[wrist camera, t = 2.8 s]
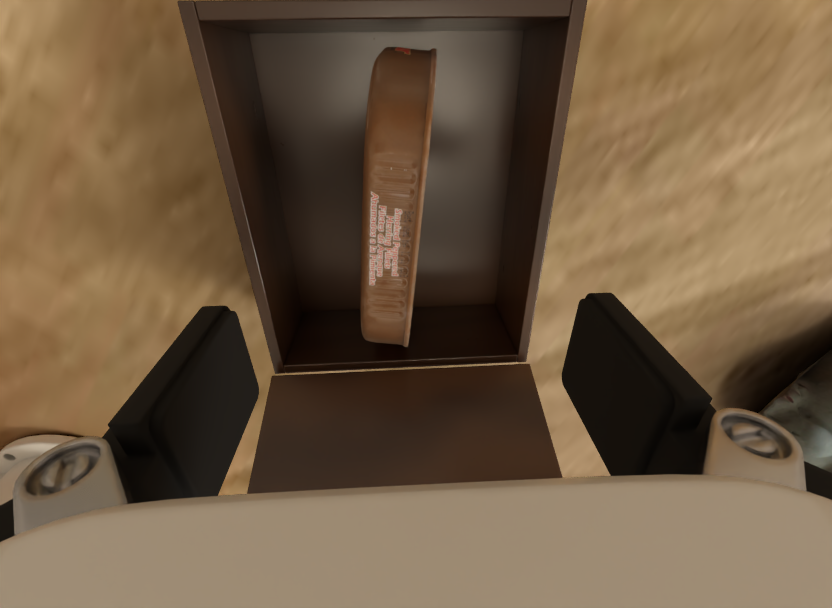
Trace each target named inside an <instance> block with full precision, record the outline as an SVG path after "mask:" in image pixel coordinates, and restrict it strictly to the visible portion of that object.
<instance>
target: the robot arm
mask: <svg viewBox="0 0 832 608" xmlns="http://www.w3.org/2000/svg"><path fill="white" fill-rule="evenodd" d="M562 382H563V385H564V387H565V389H566V391H567V393H568V395H569V397H570V399H571V401H572V403H573V405H574V406H575V408H576V410H577V412H578V414H579V416H580V418H581V420H582V422H583V424H584V425H585V427H586V429H587V431H588V433H589V435H590V437H591V439H592V441H593V443H594V444H595V446H596V448H597V450H598V452H599V454H600V456H601V458H602V460H603V462H604V463H605V465H606V467H607V469H608V471H609V473H610V475H611V476H596V477H574V478H551V479H528V480H506V481H484V482H463V483H443V484H422V485H403V486H383V487H363V488H344V489H326V490H308V491H290V492H272V493H254V494H237V495H223V496H218V494H219V491H220V489H221V486H222V484H223V481H224V479H225V477H226V474H227V472H228V469H229V467H230V464H231V462H232V460H233V457H234V455H235V452H236V450H237V447H238V445H239V443H240V440H241V438H242V435H243V433H244V430H245V428H246V426H247V423H248V421H249V418H250V416H251V413H252V411H253V409H254V406H255V404H256V401H257V399H258V394H259V387H258V382H257V379H256V376H255V373H254V369H253V366H252V363H251V359H250V356H249V353H248V349H247V346H246V343H245V339H244V336H243V333H242V329H241V326H240V323H239V319H238V316H237V314H236V312H235V311H230V309H229V308H228V307H227V306H205V307H202V308H201V309H200V310H199V311H198V312H197V314H196V315H195V316H194V317H193V319H192V320H191V321H190V322H189V324H188V325H187V326H186V327H185V329H184V330H183V331H182V332H181V334H180V335H179V336H178V337H177V339H176V340H175V341H174V342H173V344H172V345H171V346H170V347H169V349H168V350H167V351H166V352H165V354H164V355H163V356H162V357H161V359H160V360H159V361H158V362H157V364H156V365H155V366H154V367H153V369H152V370H151V371H150V372H149V374H148V375H147V376H146V377H145V379H144V380H143V381H142V382H141V384H140V385H139V386H138V387H137V389H136V390H135V391H134V392H133V394H132V395H131V396H130V397H129V399H128V400H127V401H126V402H125V404H124V405H123V406H122V407H121V409H120V410H119V411H118V412H117V414H116V415H115V416H114V417H113V419H112V420H111V421H110V422H109V424H108V426H109V427H110V428H109V430H108V431H107V432H106V433H105V435H104V436H103V437H102V438H101V437H98V436H85V437H80V438H77V437H71V436H63V435H37V436H28V437H25V438H21V439H18V440H15V441H13V442H11V443H10V444H8V445H6V446H5V447H4V448H3V449H2V450H1V451H0V608H832V473H831V472H828V471H826V470H824V469H821V468H819V467H817V466H815V465H812V464H810V463H808V462H806V461H804V457H803V451H802V449H801V446H800V444H799V443H798V441H797V440H796V439H795V438H794V436H793V435H792V434H791V433H789V432H788V431H787V430H786V429H785V428H783V427H782V426H781V425H779V424H777V423H776V422H774V421H773V420H771V419H769V418H767V417H765V416H762V415H760V414H758V413H755V412H752V411H748V410H745V409H739V408H724V409H720V410H719V411H716V410H715V409H714V408H713V407H712V406H711V404H710V402H711V400H712V397H711V396H710V395H709V394H708V393H707V392H706V391H705V390H704V389H703V388H702V387H701V386H700V385H699V384H698V383H697V382H696V381H695V380H694V379H693V378H692V376H691V375H690V374H689V373H688V372H687V371H686V370H685V369H684V368H683V367H682V366H681V365H680V364H679V363H678V362H677V361H676V360H675V359H674V358H673V357H672V355H671V354H670V353H669V352H668V351H667V350H666V349H665V348H664V347H663V346H662V345H661V344H660V343H659V342H658V341H657V340H656V339H655V338H654V337H653V336H652V334H651V333H650V332H649V331H648V330H647V329H646V328H645V327H644V326H643V325H642V324H641V323H640V322H639V321H638V320H637V319H636V318H635V317H634V316H633V315H632V313H631V312H630V311H629V310H628V309H627V308H626V307H625V306H624V305H623V304H622V303H621V302H620V301H619V300H618V299H617V298H616V297H615V296H614V295H613V294H612V293H590V294H588V295H587V296H586V298H585V299H581V300H580V302H579V305H578V309H577V313H576V317H575V321H574V326H573V330H572V334H571V338H570V342H569V346H568V350H567V354H566V358H565V363H564V367H563V371H562Z"/></svg>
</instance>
